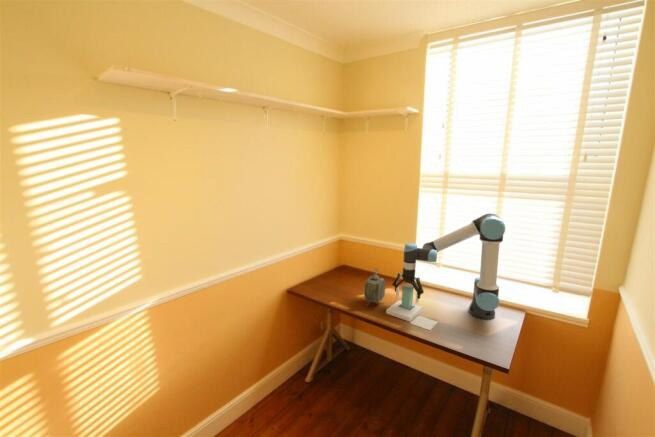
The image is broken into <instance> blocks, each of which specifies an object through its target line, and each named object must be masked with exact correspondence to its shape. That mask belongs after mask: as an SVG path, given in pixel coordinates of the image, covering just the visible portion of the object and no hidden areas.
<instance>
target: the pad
mask: <svg viewBox="0 0 655 437" xmlns="http://www.w3.org/2000/svg"><path fill="white" fill-rule="evenodd" d="M409 324H410V325H412V326H416V327H419V328H421V329H424V330H427V331H431V330H432V329H433V328H434V327H435V326H436V325H438V321H436V320H434V319H430V318H428V317H424V316H422V315H417V316H416V317H415V318H414V319H413V320H411V321H410V323H409Z"/></svg>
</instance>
